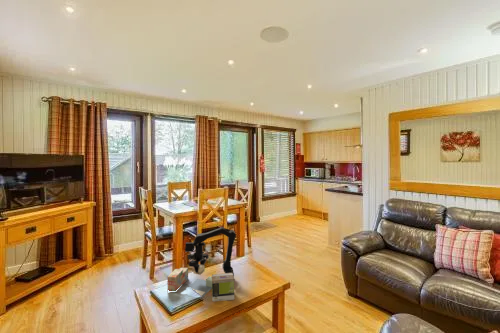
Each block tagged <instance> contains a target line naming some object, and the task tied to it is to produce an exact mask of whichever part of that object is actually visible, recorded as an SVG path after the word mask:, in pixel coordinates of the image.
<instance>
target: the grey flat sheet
mask: <svg viewBox="0 0 500 333" xmlns="http://www.w3.org/2000/svg"><path fill="white" fill-rule="evenodd" d="M188 286H189V287H191V288H192V289H193V290H195V291H196V292H197V293H199V294H200V295H201V296H202V298H203V297H205V296H206V295H207V294H208V293H209V292H210V291H212V287H208V286H206V279H201V278H200V279H199V278H197V279H195V280H194V281H193V282H192V283H190V284H189V285H188Z"/></svg>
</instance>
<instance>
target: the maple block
mask: <svg viewBox="0 0 500 333" xmlns="http://www.w3.org/2000/svg"><path fill="white" fill-rule="evenodd" d="M198 265H200V266H199V269H198V273H196V271H195V269H194V267H192V268H193V269H192V270H193V274H194V275H200V276H201V275H202V274H203V273H205V265H206V264H204V265H201V264H200V263H198Z"/></svg>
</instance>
